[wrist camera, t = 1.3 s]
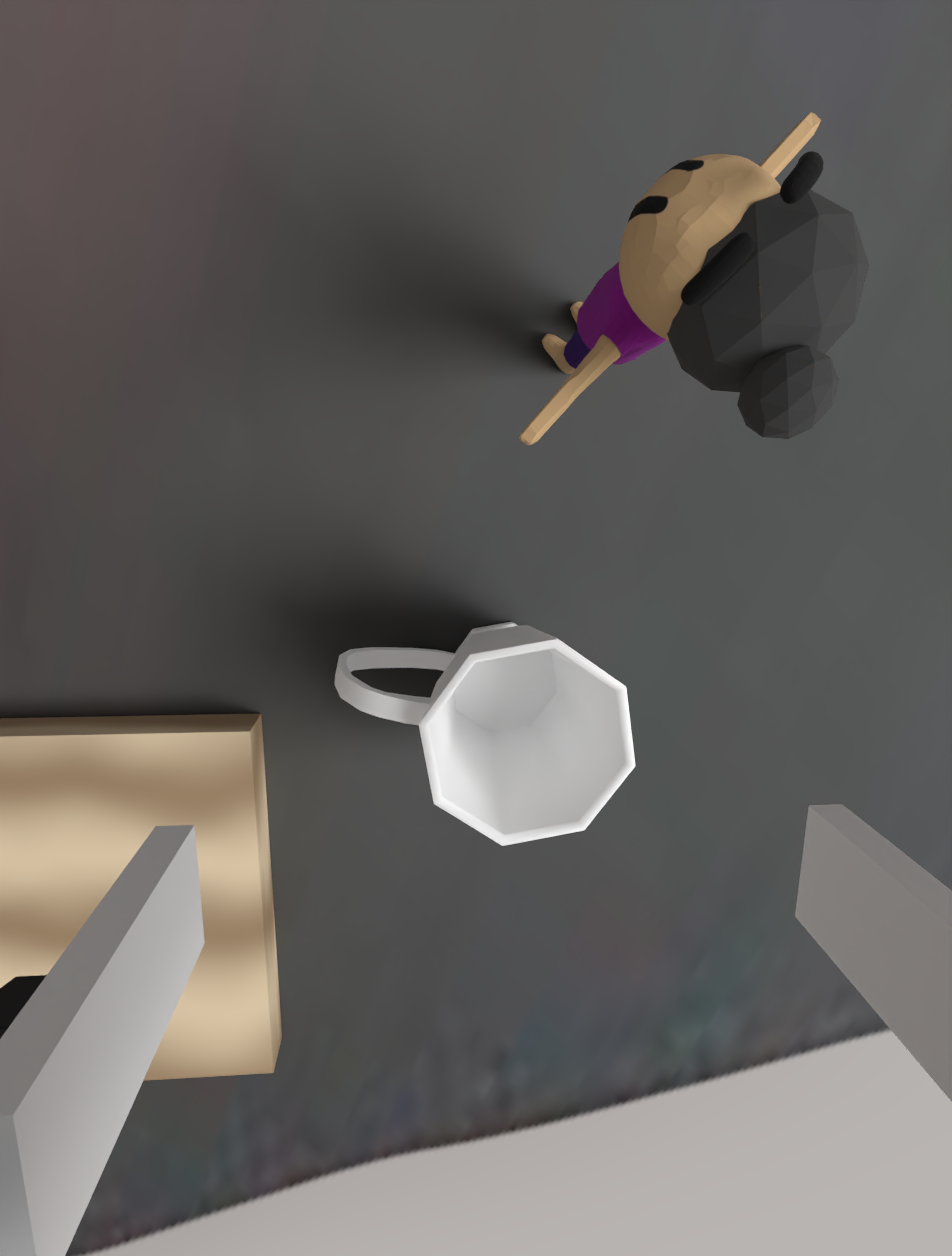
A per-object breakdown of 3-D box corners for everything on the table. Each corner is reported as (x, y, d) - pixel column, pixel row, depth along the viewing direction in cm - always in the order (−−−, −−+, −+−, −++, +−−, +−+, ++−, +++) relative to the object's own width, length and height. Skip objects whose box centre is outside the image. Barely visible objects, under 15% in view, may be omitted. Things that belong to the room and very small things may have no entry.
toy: (643, 199, 26) (935, -139, 11) (741, 310, 27) (1119, 134, 12) (453, 415, 27) (495, 362, 12) (554, 513, 28) (700, 568, 14)
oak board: (-18, 718, 28) (-50, 737, 26) (261, 713, 29) (250, 731, 27) (35, 1050, 32) (11, 1088, 30) (281, 1036, 33) (273, 1072, 31)
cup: (558, 762, 31) (606, 864, 23) (331, 719, 29) (300, 812, 22) (600, 608, 29) (667, 662, 22) (363, 556, 28) (342, 593, 20)
